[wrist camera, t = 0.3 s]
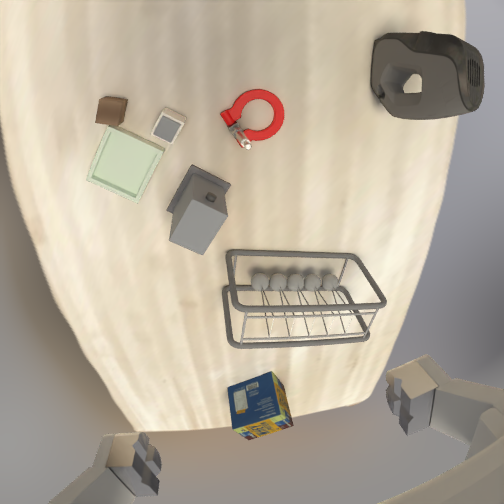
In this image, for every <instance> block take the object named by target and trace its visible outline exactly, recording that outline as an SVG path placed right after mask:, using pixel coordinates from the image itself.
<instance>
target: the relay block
mask: <svg viewBox="0 0 504 504" xmlns="http://www.w3.org/2000/svg"><path fill="white" fill-rule="evenodd" d="M185 120H186V117H184V116H182V115H180V114H178V113H176V112H174V111H172V110H170V109H168V108H165V109H164V110H163V111H162V113H161V115H160V117H159V118H158V120H157V122H156V124H155V126H154V128H153V130H152V132H151V133H150V134H151V135H153V136H155V137H157V138H159V139H161V140H163V141H165V142H167V143H169V144H171V145H173V143H174V141H175V139H176V137H177V136H178V134H179V132H180V130H181V129H182V127H183V125H184V123H185Z"/></svg>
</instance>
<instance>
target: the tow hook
mask: <svg viewBox="0 0 504 504" xmlns="http://www.w3.org/2000/svg"><path fill="white" fill-rule="evenodd" d="M254 99H264V100H266V101H268V102H269V103H270V104H271V105H272V107H273V110H274V119H273V121H272V123H271V125H270V126H269V127H267V128H266V129H264V130H261V131H253V130H250V129H246V130H244V131H242V129H241V128H240V126H239V124H238V123H237V122H236V120H238V119H239V118H241V113H242V109H243V107H244V106H245V105H246V104H247V103H248V102H249V101H251V100H254ZM220 115H221V116H222V118H223V119H224V121H225V123H226V124H227V127H228V128H229V130H230V131H231V133H232V135H233V136H234V138H235V139H236V140H237V141H238V143H239V145H240V146H241V148H243V147H245V148H246V149H247V150H249V149H251V145H250V141H252V140H255V141H258V140H265V139H268V138H270V137H271V136H273V135H275V134H276V133H277V132H278V130H279V129H280V128H281V126H282V124H283V120H284V109H283V105H282V103H281V102H280V100H279V99H278V98H277V97H276V96H275V95H274V94H272V93H270V92H268V91H265V90H261V89H258V90H251V91H247V92H245V93H244V94H242V95H241V96H240V97H239V98H238V99H237V100H236V101H235V103H234V105H233V107H232V108H231V109H229V110H225V111H223V112H222V113H221V114H220Z"/></svg>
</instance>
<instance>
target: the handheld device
mask: <svg viewBox="0 0 504 504" xmlns="http://www.w3.org/2000/svg"><path fill="white" fill-rule="evenodd" d="M374 46H375V48H374V52H373V61H372V75H371V86H372V89H373V90H374V92H375V94H376V95H377V97H378V98H379V99H380V101H381V103H382V104H383V106H384V107H385V108H386V110H387V111H388V112H389V113H390V114H391V115H392V116H394V117H397V118H402V119H410V120H428V119H439V118H447V117H452V116H457V115H462V114H466V113H469V112H473V111H475V110H477V109H478V108H479V106H480V104H481V102H482V98H483V94H484V64H483V59H482V56H481V54H480V53H479V51H478V50H477V49H476V48H475V47H474V46H472V45H470V44H469V43H467V42H465V41H463V40H461V39H459V38H458V37H456V36H454V35H450V34H436V33H432V32H426V31H421V32H420V33H387V34H385V35H384V36H383V37H382V38H381V39H378V40H375V42H374ZM412 74H419V75H420V76H421V78H422V92H420V93H404V90H403V86H404V84H405V83H406V81H407V80H408V79H409V78H410V76H411V75H412Z"/></svg>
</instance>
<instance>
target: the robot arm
mask: <svg viewBox="0 0 504 504" xmlns="http://www.w3.org/2000/svg"><path fill="white" fill-rule="evenodd" d="M386 381H387V383H388V384H389V386H388V388H387V389H386V398H387V402H388V405H389V407H390V409H391V411H392V413H393V414H394V415H396V416H399V424H400V426H401V427H402V428H403V430H404V432H405V433H406V435H407V436H408V435H411V434H413V433H415V432H418V431H420V430H422V429H424V428H426V427H429V426H430V427H431V428H432V429H435V430H437V431H439V432H441V433H443V434H445V435H448V436H450V437H452V438H454V439H456V440H459V441H461V442H463V443H465V444H468V445H470V448H469V451H468V454H467V456H466V459H465V461H464V462H462V463H461V464H459V465H457V466H455V467H454V468H452V469H450V470H448V471H446V472H445V473H443V474H441V475H439V476H437V477H435V478H433V479H432V480H429V481H427V482H425V483H423V484H421V485H419V486H417V487H415V488H413V489H411V490H409V491H407V492H404V493H402V494H400V495H397V496H395V497H392V498H390V499H388V500H385V501H383V502H380V503H378V504H504V389H500V388H495V387H491V386H487V385H482V384H478V383H474V382H470V381H466V380H461V379H457V378H455V379H453V380H452V379H451V378H450V377H449V376H448V374H447V373H445V371H444V370H443V369H442V368H441V367H440V366H439V365H438V364H437V363H436V362H435V361H434V360H433V359H432V358H431V357H430V356H429V355H424V356H422V357H419V358H417V359H415V360H413V361H410V362H408V363H406V364H403V365H401V366H399V367H396V368H394V369H391V370H389V371H387V373H386ZM160 471H161V458H160V455H159V452H158V451H157V449H156V448H155V447H154V446H152V445H150V444H149V438H148V436H147V435H146V434H145V433H144V432H136V433H120V434H105V435H104V436H103V437H102V440H101V442H100V445H99V448H98V451H97V454H96V457H95V460H94V463H93V466H92V467H89V468H88V469H87V470H86V471H84V472H83V473H82V474H81V475H80V476H78V478H76V479H75V480H74V481H73V482H72V483H70V484H69V485H68V486H67V487H66V488H65V489H64V490H63V491H61V492H60V493H59V494H58V495H57V496H55V497H54V498H53V499H52V500H51V501H49V503H48V504H132V503H133V501H134V500H135V499H136V497H138V496H157V495H158V489H159V479H158V478H157V477H156V476H157V475H158V474H159V472H160Z"/></svg>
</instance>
